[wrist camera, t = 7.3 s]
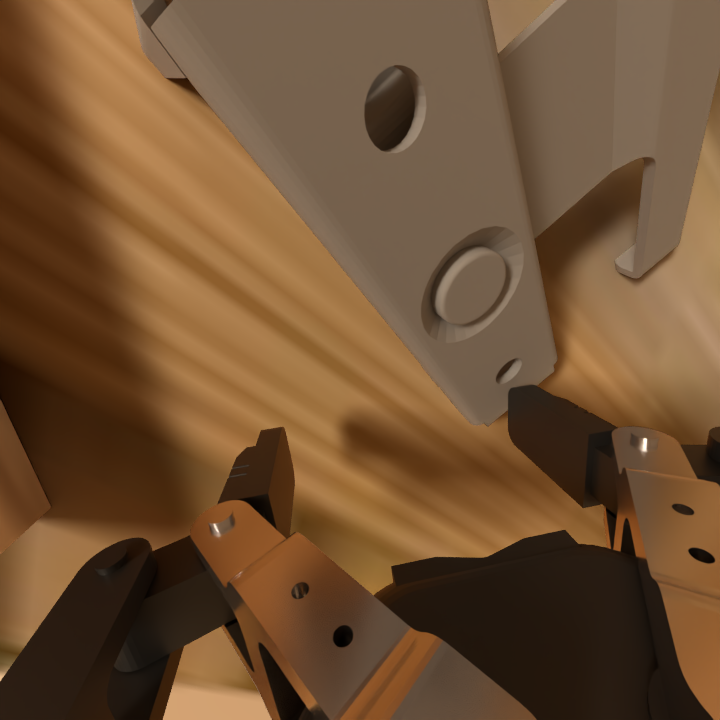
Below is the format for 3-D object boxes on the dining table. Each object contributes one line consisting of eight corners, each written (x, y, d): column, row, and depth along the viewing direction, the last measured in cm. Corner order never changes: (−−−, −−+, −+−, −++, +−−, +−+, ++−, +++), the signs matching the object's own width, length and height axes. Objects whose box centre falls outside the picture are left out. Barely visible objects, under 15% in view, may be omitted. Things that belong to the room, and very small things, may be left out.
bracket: (396, -244, 9) (1122, -1179, 2) (505, 193, 20) (699, 256, 13) (134, 42, 10) (105, -32, 3) (369, 316, 21) (482, 437, 14)
